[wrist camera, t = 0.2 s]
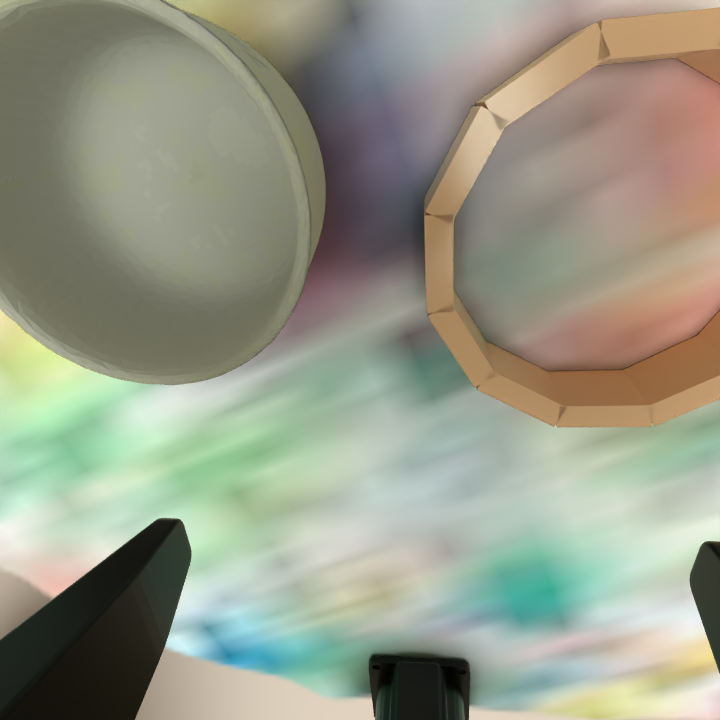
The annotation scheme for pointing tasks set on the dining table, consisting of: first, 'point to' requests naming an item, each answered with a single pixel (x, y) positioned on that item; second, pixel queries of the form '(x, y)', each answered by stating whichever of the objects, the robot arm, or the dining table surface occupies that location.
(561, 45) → the tan polygonal ring
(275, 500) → the dining table surface
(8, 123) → the teacup
